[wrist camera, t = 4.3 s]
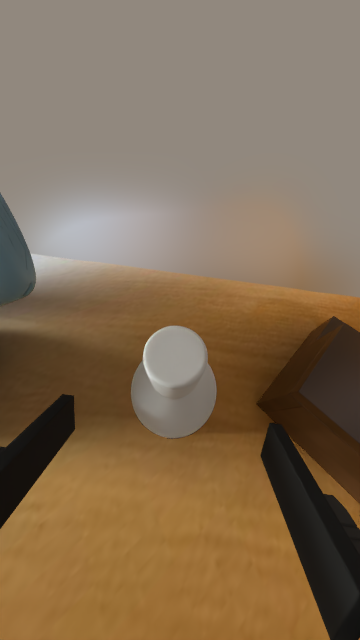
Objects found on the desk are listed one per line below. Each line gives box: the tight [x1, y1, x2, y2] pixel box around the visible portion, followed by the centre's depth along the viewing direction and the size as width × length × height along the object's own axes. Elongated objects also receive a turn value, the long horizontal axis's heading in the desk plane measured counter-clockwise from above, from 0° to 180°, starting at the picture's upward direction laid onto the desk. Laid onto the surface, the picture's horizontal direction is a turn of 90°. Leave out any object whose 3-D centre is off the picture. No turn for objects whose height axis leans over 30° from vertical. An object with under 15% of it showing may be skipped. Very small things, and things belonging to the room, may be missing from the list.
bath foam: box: [131, 326, 217, 439], centre depth 17 cm, size 7×7×20 cm
